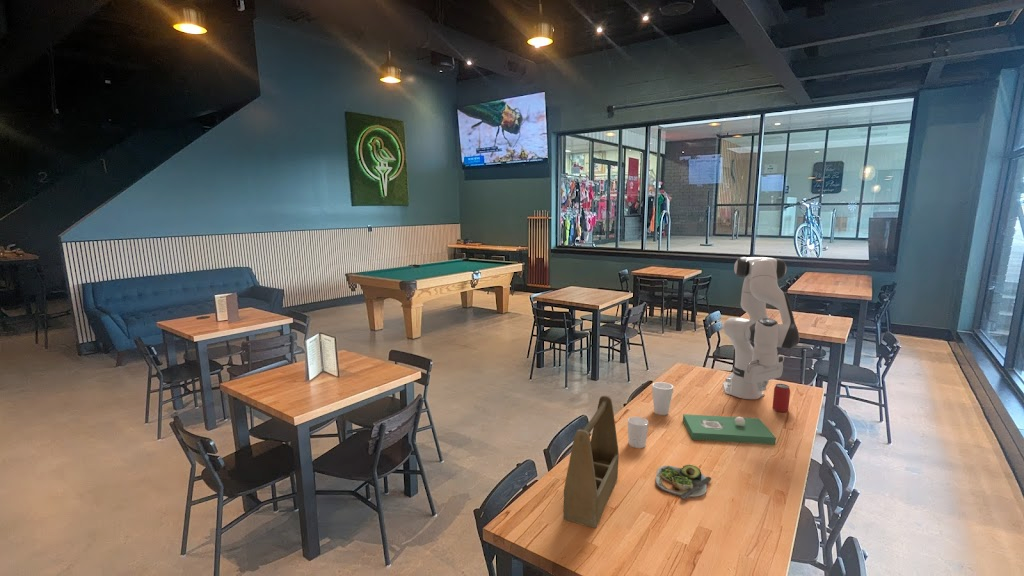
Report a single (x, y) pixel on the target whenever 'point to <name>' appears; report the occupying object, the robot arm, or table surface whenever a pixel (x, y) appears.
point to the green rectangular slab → (727, 429)
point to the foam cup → (662, 397)
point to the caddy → (592, 468)
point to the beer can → (781, 398)
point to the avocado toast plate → (683, 480)
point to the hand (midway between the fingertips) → (761, 390)
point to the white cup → (637, 431)
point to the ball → (739, 421)
